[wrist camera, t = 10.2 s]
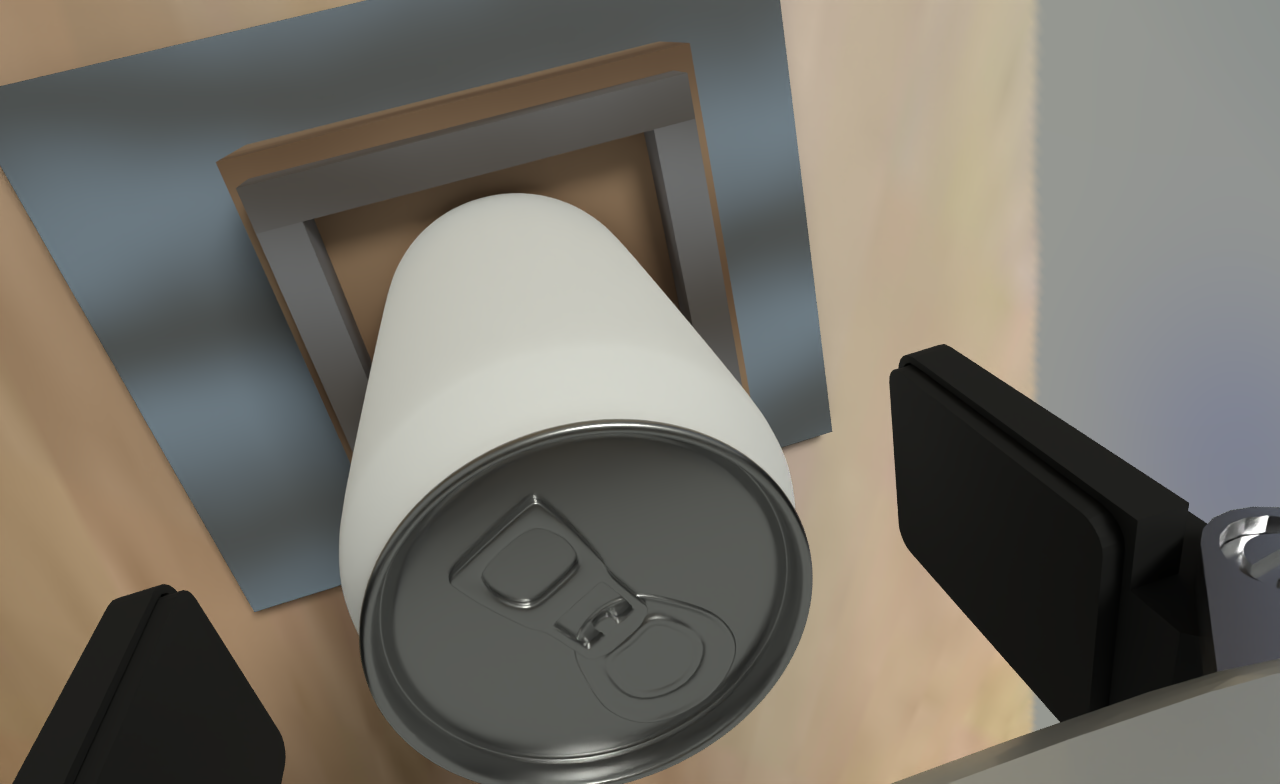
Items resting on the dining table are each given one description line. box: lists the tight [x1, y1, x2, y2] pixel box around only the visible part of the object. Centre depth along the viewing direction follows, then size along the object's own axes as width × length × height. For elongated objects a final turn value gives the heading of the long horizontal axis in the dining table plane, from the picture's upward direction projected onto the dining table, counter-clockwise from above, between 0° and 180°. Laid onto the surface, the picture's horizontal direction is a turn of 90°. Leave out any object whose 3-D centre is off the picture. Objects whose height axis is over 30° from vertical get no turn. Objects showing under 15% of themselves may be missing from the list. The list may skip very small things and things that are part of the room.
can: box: [339, 193, 813, 784], centre depth 15 cm, size 6×6×12 cm
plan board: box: [0, 0, 832, 612], centre depth 21 cm, size 16×20×5 cm
